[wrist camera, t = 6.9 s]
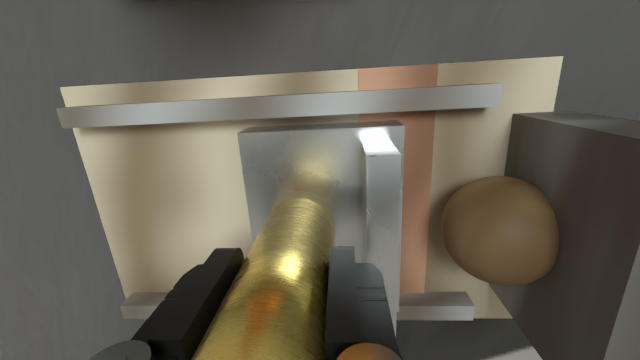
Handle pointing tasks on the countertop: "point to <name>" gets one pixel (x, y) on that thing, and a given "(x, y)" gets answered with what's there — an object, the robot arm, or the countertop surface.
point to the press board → (418, 189)
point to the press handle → (308, 233)
